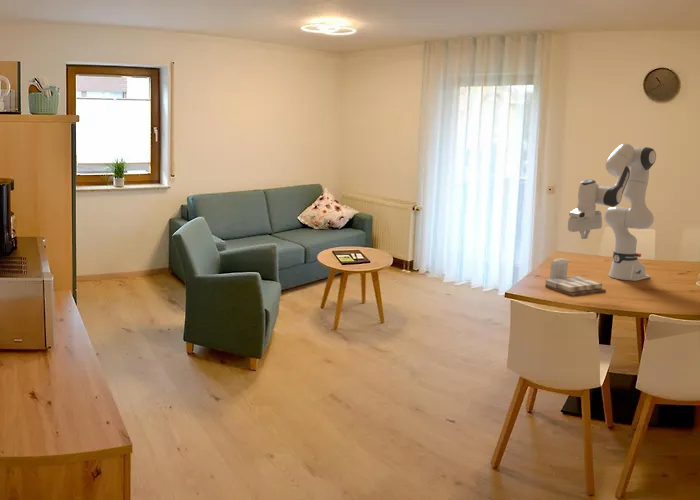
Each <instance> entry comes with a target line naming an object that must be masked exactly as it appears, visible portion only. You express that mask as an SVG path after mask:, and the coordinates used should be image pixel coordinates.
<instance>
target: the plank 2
mask: <svg viewBox="0 0 700 500" xmlns="http://www.w3.org/2000/svg"><path fill="white" fill-rule="evenodd" d="M574 282H576V283H579V284H583V285H586V290H591V289H599V288H603V283H602V282H598V281H595V280H592V279H589V280H582V281H574Z"/></svg>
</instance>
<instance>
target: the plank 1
mask: <svg viewBox="0 0 700 500" xmlns="http://www.w3.org/2000/svg"><path fill="white" fill-rule="evenodd" d="M557 288H558V289H561V290H565V291H568V292H575V291H583V290H586V285H583V284H579V283H576V282H566V283H557Z"/></svg>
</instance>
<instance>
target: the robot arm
mask: <svg viewBox="0 0 700 500" xmlns="http://www.w3.org/2000/svg"><path fill="white" fill-rule="evenodd" d="M656 159H657V153H656V151H655V149H654V148H651V147H647V146H645V147H642V146H633V145H631V144H630V143H621V144H620V145H618V146H617V147H616V148H614V150H613V151H612V152H611V153H610V155H609V156H608V158H607V159H606V162H605V169H606V171H607V172H608V173H609V174H610V176H612V177H613V178H614V177H615V178H617V179H616V181H615V184H614V185H612V186H611V185H610V186H607V185H601V184H600V185H599V184H597V182H596V180H594V179H584V180H581V181H580V184H579V186H578V193H577V194H578V195H577V199H578V203H577V205H576V206H577V207H576V208H575V209H573V210H571V211H569V213H568V216H569V218H568V221H567V230H568V231H569V232H570V233H577V232H579V234H580V239H582V240H587V239H588V238H589V234H590V233H591V230H597V229H602V227H603V217H602V212H601V211H600V210H596V207H597V205H602V206H608V208H606V211H605V212H604V221H605V222H606V224H607V225H608V226H609V227H610V229H611V230H612V231H613V234H614V251H613V254H612V258H613V259H612V261H611V265H610V270H609V272H608V276H609V277H610V278H611V279H612V278H613V279H617V280H624V281H634V282H637V281H641V280H645V279H650V277H651V276H650V275H649V274H647V273H646V272H647V271H646V270H647V269H646V266H645V265H644V264H643V263H642V262H641V261H640V260H639V259H638V258H641V257H642V253H638V252H637V247H638V240H637V237H636V236H635V235H633V234H632V233H630V231H629V229H636V230H645V229H647V230H648V229H649V228H650V227H652V225H653V224H654V221H655V220H654V219H655V217H654V215H653V213H652V211H651V210H650V209H649V208H648V207H647V204H646V194H647V189H648V188H647V187H648V186H649V185H648V183H649V179H650V178H649V177H650V169H651V168H652V166H654V164H655V162H656ZM623 197H624V199H625V200H627V202H629V203H630V204H631V206H630V207H628V206H627V207H626V206H618V205H619V204H620V203H621V201H622V198H623Z"/></svg>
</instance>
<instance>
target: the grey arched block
mask: <svg viewBox="0 0 700 500" xmlns="http://www.w3.org/2000/svg"><path fill="white" fill-rule="evenodd" d="M568 264H569V262H568V259H566V258H561V257H560V258H555V259H554V260H552V261H551V264H550V274H549V275H550V276H549V279H557V278H566V277H567V275H568V267H569V266H568Z"/></svg>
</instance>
